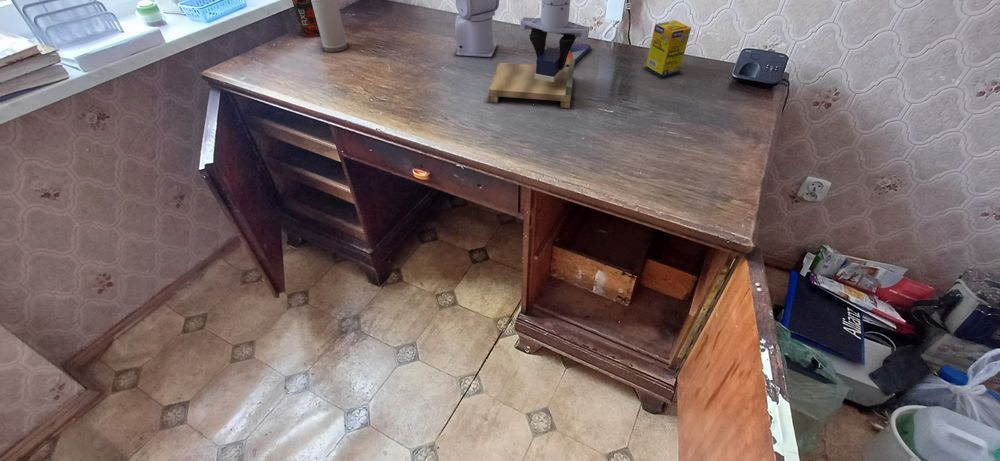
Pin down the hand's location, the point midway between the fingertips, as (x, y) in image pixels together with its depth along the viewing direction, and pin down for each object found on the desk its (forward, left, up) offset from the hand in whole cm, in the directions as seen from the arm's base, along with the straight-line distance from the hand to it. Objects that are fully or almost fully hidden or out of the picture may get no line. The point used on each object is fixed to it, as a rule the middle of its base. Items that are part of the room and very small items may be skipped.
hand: (551, 66), depth 103 cm
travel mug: (-60, +16, -6) cm, 62 cm away
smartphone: (+3, +20, -6) cm, 21 cm away
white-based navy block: (0, 0, -1) cm, 1 cm away
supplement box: (+26, +15, -6) cm, 31 cm away
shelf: (-4, 0, -6) cm, 7 cm away
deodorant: (-71, +25, -6) cm, 75 cm away
